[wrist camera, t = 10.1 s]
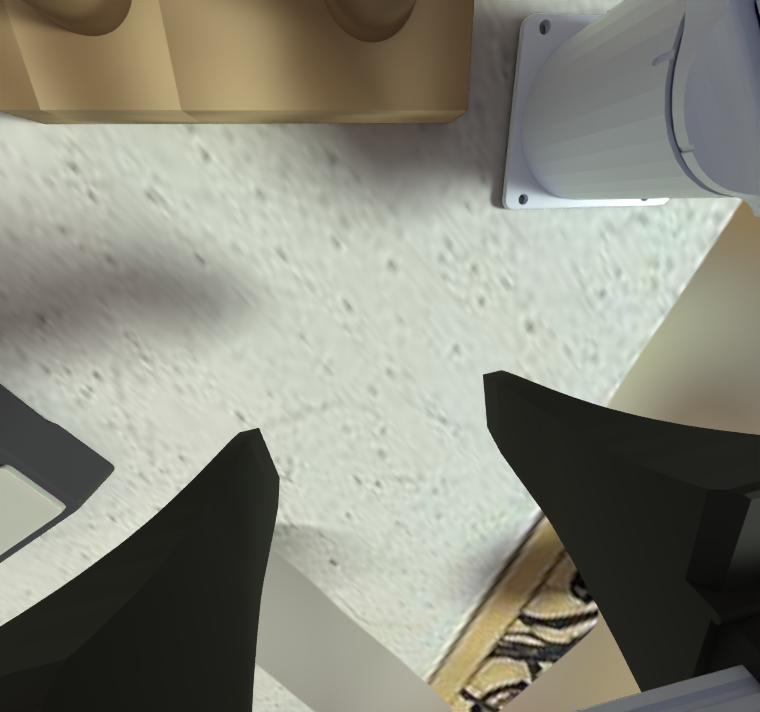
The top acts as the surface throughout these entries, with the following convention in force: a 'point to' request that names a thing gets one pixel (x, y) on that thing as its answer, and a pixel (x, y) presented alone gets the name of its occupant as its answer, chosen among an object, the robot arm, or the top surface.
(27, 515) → the calculator
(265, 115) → the wooden peg board
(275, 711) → the top surface
